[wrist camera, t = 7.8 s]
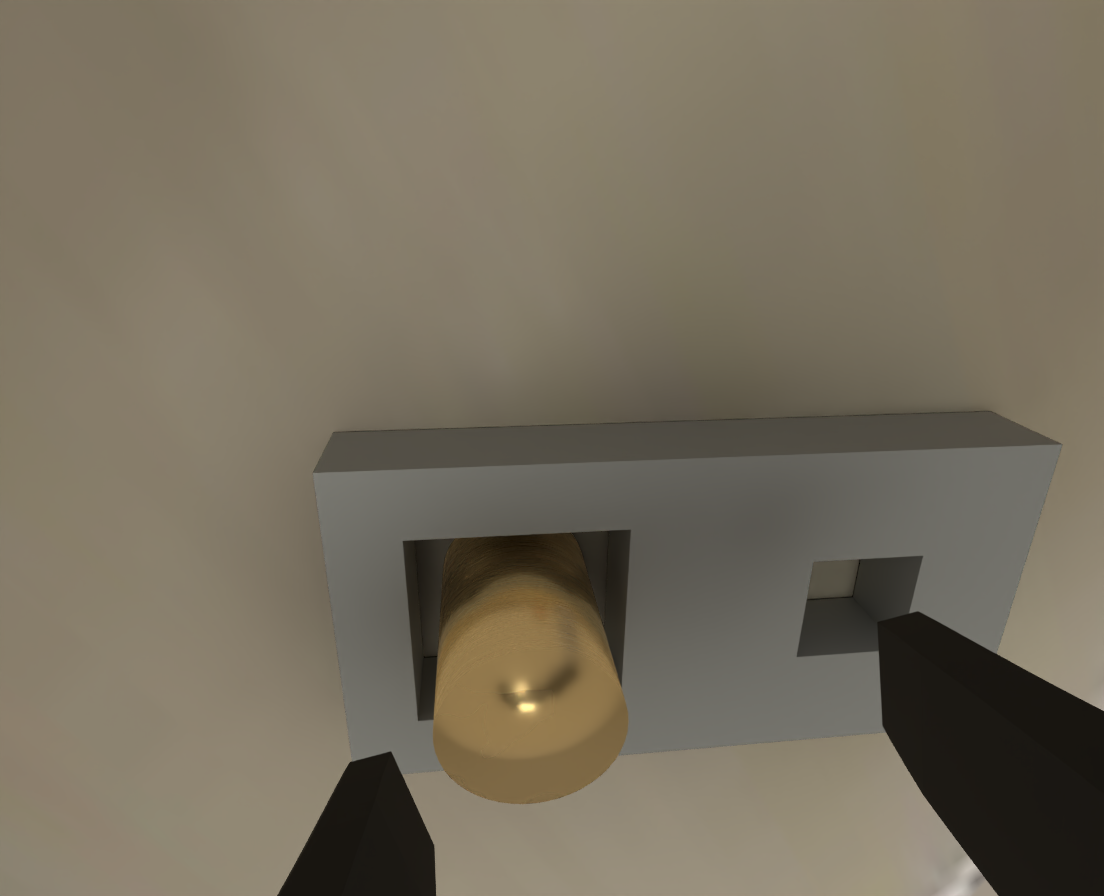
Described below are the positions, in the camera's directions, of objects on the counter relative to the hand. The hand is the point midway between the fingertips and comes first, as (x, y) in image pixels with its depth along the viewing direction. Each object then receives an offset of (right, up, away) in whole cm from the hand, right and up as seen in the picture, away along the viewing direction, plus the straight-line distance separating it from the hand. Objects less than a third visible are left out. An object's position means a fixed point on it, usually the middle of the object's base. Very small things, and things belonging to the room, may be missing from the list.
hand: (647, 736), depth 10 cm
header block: (+2, +1, +10) cm, 10 cm away
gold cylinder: (-2, +1, +10) cm, 10 cm away
